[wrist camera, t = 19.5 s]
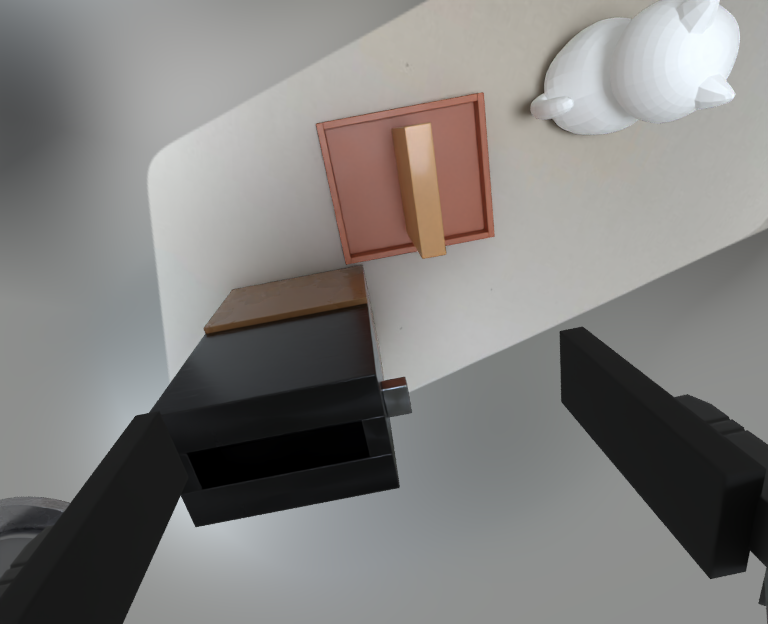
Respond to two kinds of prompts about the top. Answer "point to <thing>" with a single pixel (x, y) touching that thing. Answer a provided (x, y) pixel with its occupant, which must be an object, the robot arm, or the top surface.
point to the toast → (419, 188)
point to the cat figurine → (642, 68)
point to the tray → (381, 182)
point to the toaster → (285, 401)
